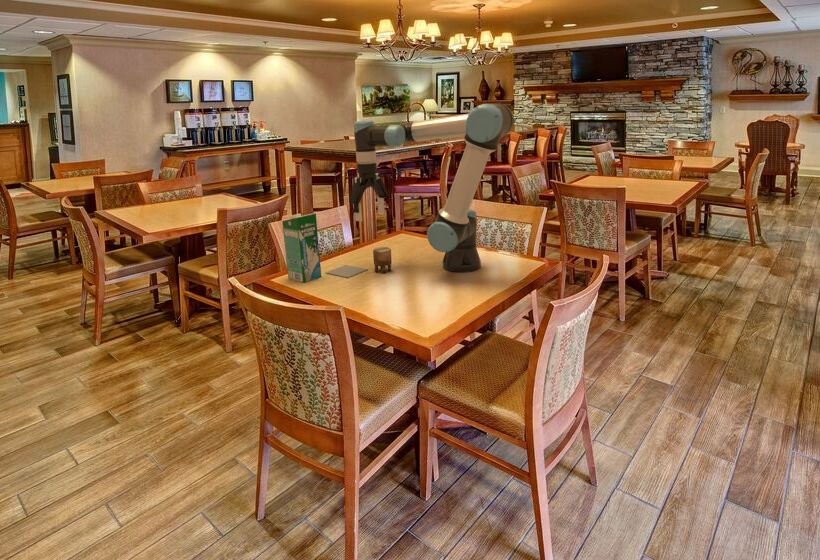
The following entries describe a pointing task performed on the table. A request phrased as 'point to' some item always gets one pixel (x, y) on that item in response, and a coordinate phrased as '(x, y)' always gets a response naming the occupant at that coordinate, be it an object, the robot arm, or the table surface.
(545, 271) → the table surface
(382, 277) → the table surface
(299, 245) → the milk carton
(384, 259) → the footstool
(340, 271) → the mat
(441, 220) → the robot arm
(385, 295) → the table surface
